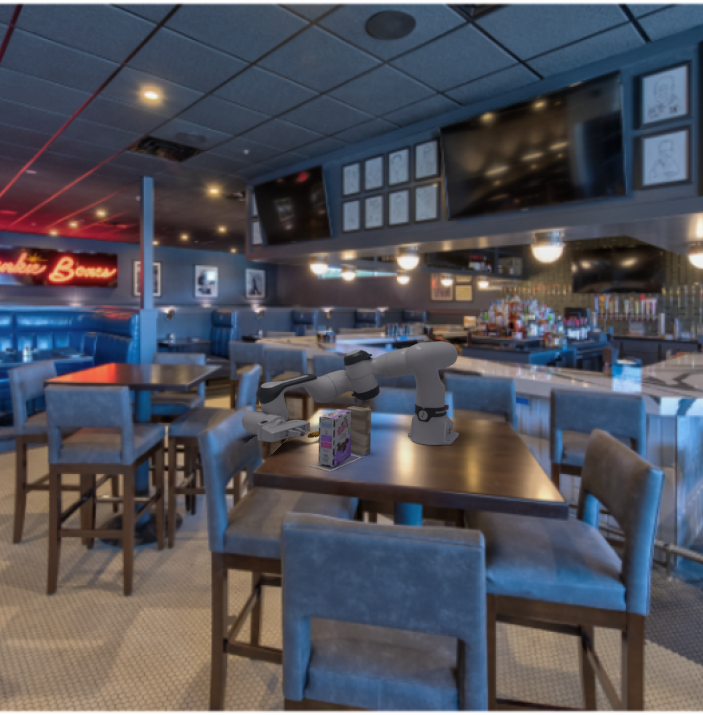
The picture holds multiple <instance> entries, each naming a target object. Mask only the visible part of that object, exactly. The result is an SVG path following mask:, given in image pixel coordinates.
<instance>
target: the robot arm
mask: <svg viewBox="0 0 703 715" xmlns="http://www.w3.org/2000/svg"><path fill="white" fill-rule="evenodd" d="M458 354H459V353H458V349H457V348H456V346H455V345H454V344H452V343H451V342H447V341H443V340H441V341H426V342H424V341H423V342H419V343H415V344H414V345H411V346H409V347H408V346H407V347H404V348H399V349H395V350H391V351H387V352H385V353H383V354H380V355H379V356H376V357H373V353H369V352H367V350H364V349H354V350H351V351H349V352H347V354H346V355H344V357H343V366H345V369H340V370H336V371H331V372H329V373H326V374H324V375H321V376H317V375H316V374H314V373H305V374H299V375H296V376H292V377H288V378H284V379H280V380H279V379H278V380H273V381H266V382H263V383H262V384H260V386H259V387H258V388H257V391H256V394H255V395H256V397H257V399H258V402H259V404H260V408H261V411H260V410H259V411H254V410H247V411H246V412H244V413H243V415H242V417H241V425H242V428H243V429H244V430H245V431H246V432H247V433H249V434H253V435H255V436H257V441H258V442H267V443H274V442H278V441H279V442H280V441H282V440H285V439H287V438H293V437H297V438H301V437H305V436H306V433H307V432H310V430H311V423H310V421H308V420H302V419H292V420H289V418H290V414H289V410H288V407H287V404H286V402H287V401H286V400H285V396H284V395H285V393H286V392H288V391H292V390H296V389H299V388H300V389H301V388H303V389H304V390H305V391H306V392H307V394H308V395H309V396H310V397H311V398H312V399H313V400H314V401H316V402H318V403H321V404H325V403H330V402H332V401H333V400H335V399H337V398H339V397H341V396H342V395H344V394H345V393H347V392H352V393H351V396H352V397H355V398H356V399H357V400H359V401H362V402H363V401H364V402H365V401H371V400H374V399H375V398H376V397H378V396H379V394H380V390H381V389H380V385H379V384H378V379H377V378H380V379H393V378H400V377H405V376H411V375H413V376H414V380H415V385H416V387H415V389H416V391H415V392H416V393H415V394H416V395H415V396H416V397H415V399H416V400H415V404H414V415H413V416H412V417H411V423H410V424H411V425H410V432H409V433H408V434H407V437H408V438H410V441H412V442H414V443H417V444H422V445H426V446H440V445H442V446H445V445H446V446H447V445H448V446H451V445H452V444H453V443H454V442H455V441H456V440H457V439H458V438H459V437H460V434H459V432H456V431H454V421H453V420H452V419H451V418H450V417H449V416H448V415H447V414H448V412H447V411H449V408H450V405H449V404H446V385H445V383H444V382H442V380H441V377H440V374H439V370H445V369H447V368H449V367H452V366H453V365H454V364H456V362H457V360H458Z"/></svg>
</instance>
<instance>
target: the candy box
mask: <svg viewBox="0 0 703 715" xmlns="http://www.w3.org/2000/svg"><path fill="white" fill-rule="evenodd" d="M318 420H319V422H318V425H319V426H318V431H319V436H318V465H319V466H323V467H328V468H329V467H330V468H336V466H338V465H339V464H341V463H343V461H345V460H347V459H348V458H350V457H352V456H351V454H352V453H351V411H349V410H347V409H338V408H336V409H335V410H333V411H330V412H329V413H326V414H323V415H321V416H319V418H318Z"/></svg>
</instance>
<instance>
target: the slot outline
mask: <svg viewBox="0 0 703 715" xmlns="http://www.w3.org/2000/svg"><path fill="white" fill-rule="evenodd" d="M350 457H355V458H356V459H354V460H351V461H348V462H345V463H344V464H341V465H340V466H337V467H333V469H329V468H325V467H321V466H317V465H313V464H308V466H309V467H312V468H315V469H318V470H322V471H325V472H329V473H331V472H333V471H335V470H338V469H340V468H342V467H345V466H347V465H349V464H352V463H354V462H356V461H359V460H361V459H363V458H364V457H363V456H361V455H360V456H359V455H357V454H353V453H351V456H350Z"/></svg>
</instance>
